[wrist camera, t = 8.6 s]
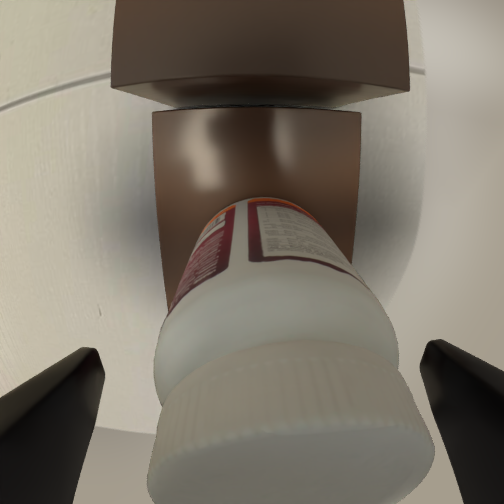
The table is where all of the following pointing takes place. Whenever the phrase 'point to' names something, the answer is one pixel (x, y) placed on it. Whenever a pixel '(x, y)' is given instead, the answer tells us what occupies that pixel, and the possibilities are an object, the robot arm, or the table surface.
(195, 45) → the step shelf
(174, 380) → the pill bottle
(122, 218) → the table surface
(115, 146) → the table surface
